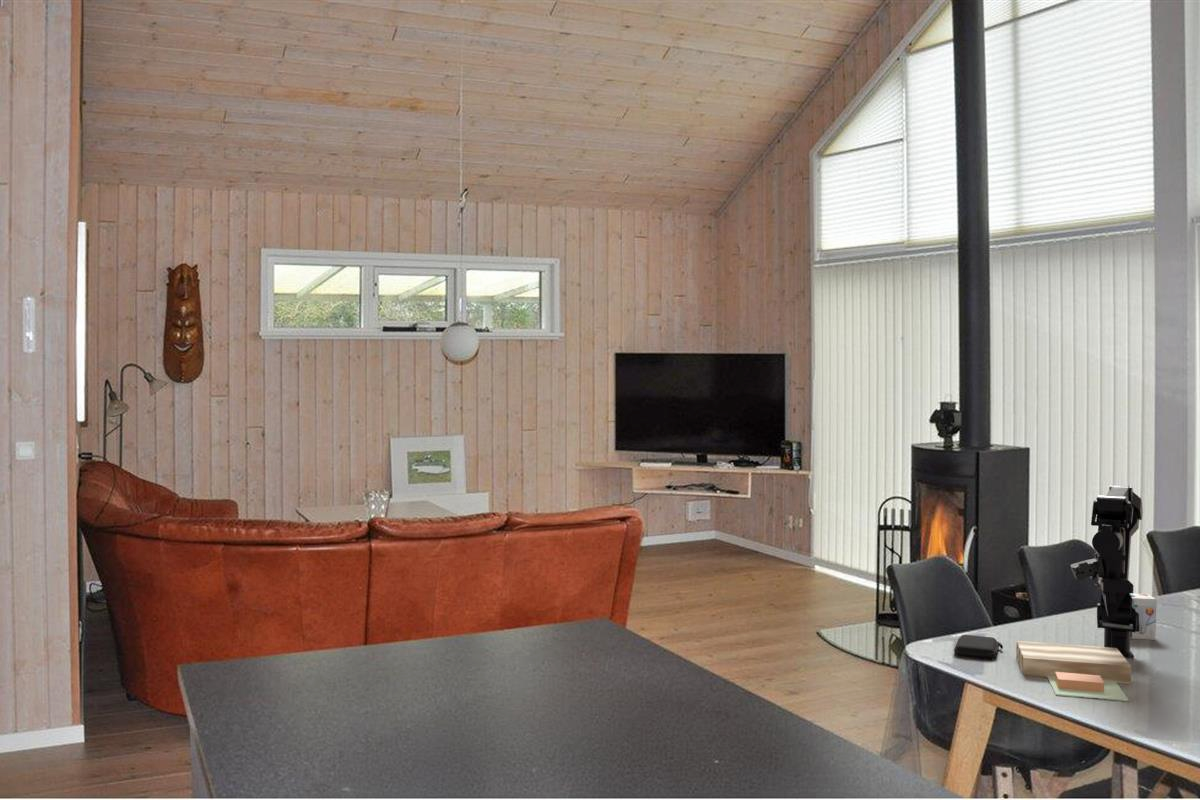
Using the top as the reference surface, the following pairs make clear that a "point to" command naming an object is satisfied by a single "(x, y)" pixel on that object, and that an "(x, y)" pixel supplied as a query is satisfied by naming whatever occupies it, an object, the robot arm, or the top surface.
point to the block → (1079, 681)
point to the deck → (1072, 660)
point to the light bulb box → (1145, 616)
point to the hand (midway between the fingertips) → (1110, 616)
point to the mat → (1110, 691)
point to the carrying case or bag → (977, 647)
